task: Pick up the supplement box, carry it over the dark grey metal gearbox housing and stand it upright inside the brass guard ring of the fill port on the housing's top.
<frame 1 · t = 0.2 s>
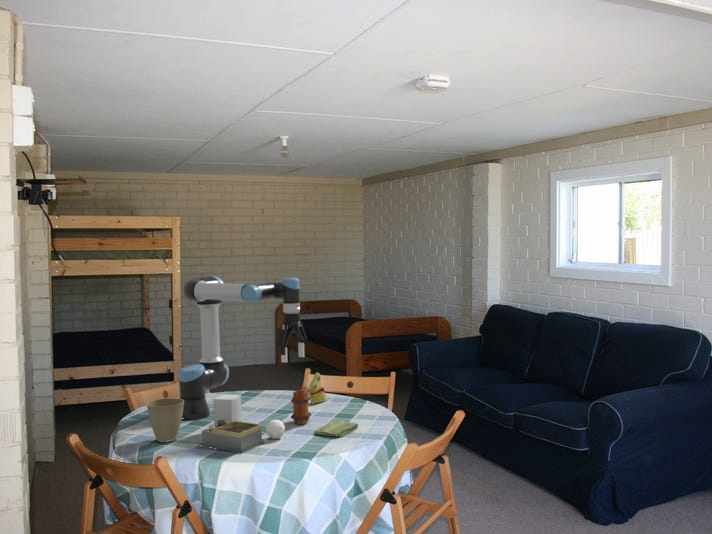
hand: (293, 359, 306), 28 cm above the table, fingers open, 13 cm apart
washcloth: (336, 432, 289), on the table
plant pot: (167, 440, 282), on the table
chocolate bunny: (318, 403, 339), on the table
geometric ball: (275, 438, 281), on the table
mug: (302, 421, 306), on the table
gearbox: (232, 444, 274), on the table
supplement box: (228, 431, 293), on the table
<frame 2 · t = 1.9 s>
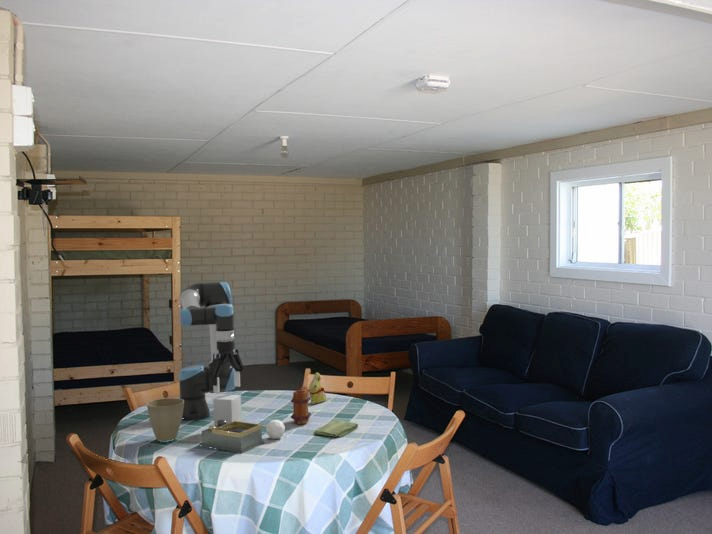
hand: (227, 389, 292), 18 cm above the table, fingers open, 13 cm apart
nothing on the table moved.
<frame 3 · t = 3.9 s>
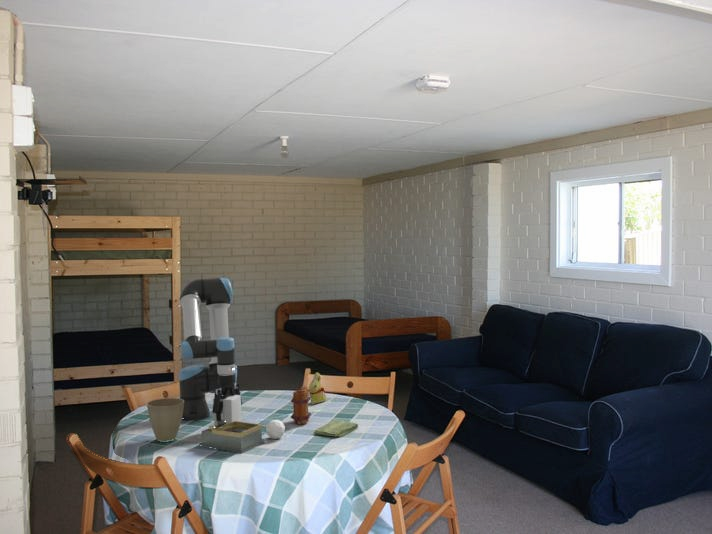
hand: (228, 425, 293), 2 cm above the table, fingers closed on supplement box, 10 cm apart
supplement box: (228, 431, 293), on the table, touching gripper
everything else where it was.
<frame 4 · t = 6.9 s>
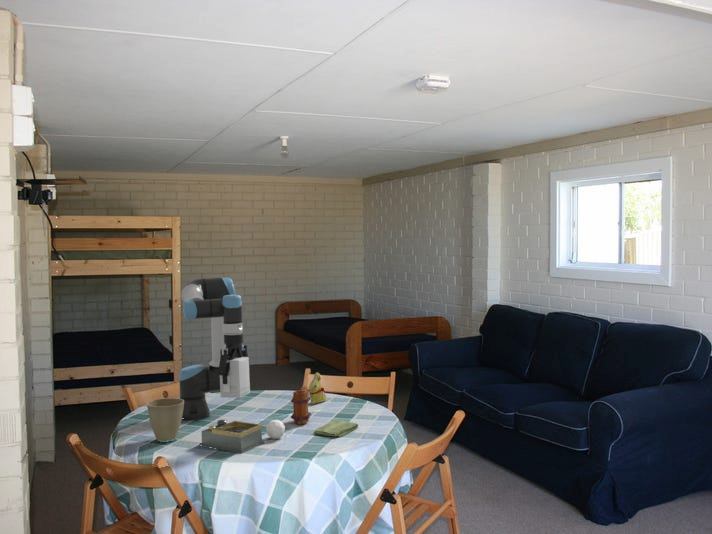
hand: (235, 389, 272), 22 cm above the table, fingers closed on supplement box, 10 cm apart
supplement box: (235, 395, 273), point 20 cm above the table, touching gripper
everything else where it was.
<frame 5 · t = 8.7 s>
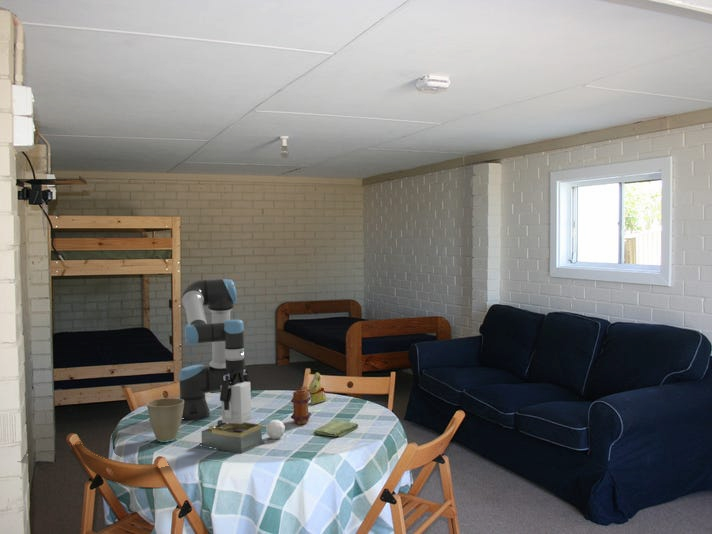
hand: (236, 414, 272), 13 cm above the table, fingers closed on supplement box, 10 cm apart
supplement box: (237, 421, 272), point 10 cm above the table, touching gripper
everything else where it was.
when the fingers open (10 cm above the table, at t = 10.2 s): supplement box drops 1 cm, resting on gearbox.
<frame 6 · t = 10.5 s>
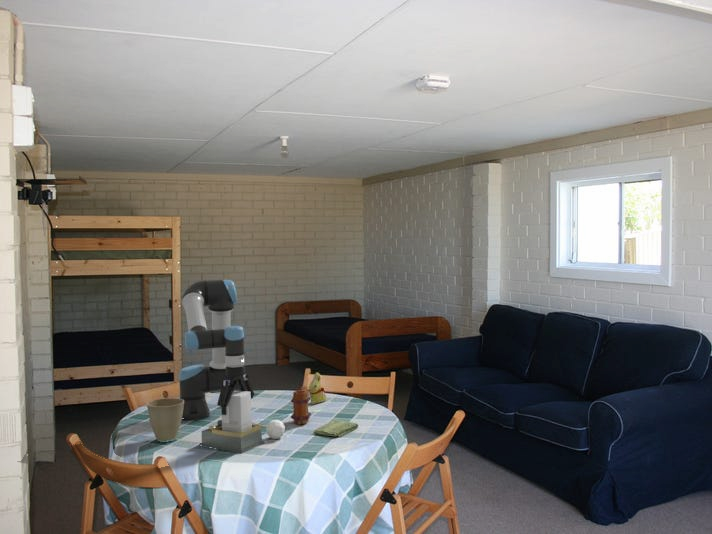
hand: (237, 418, 272), 11 cm above the table, fingers open, 13 cm apart
supplement box: (237, 430, 272), point 6 cm above the table, touching gearbox
everything else where it was.
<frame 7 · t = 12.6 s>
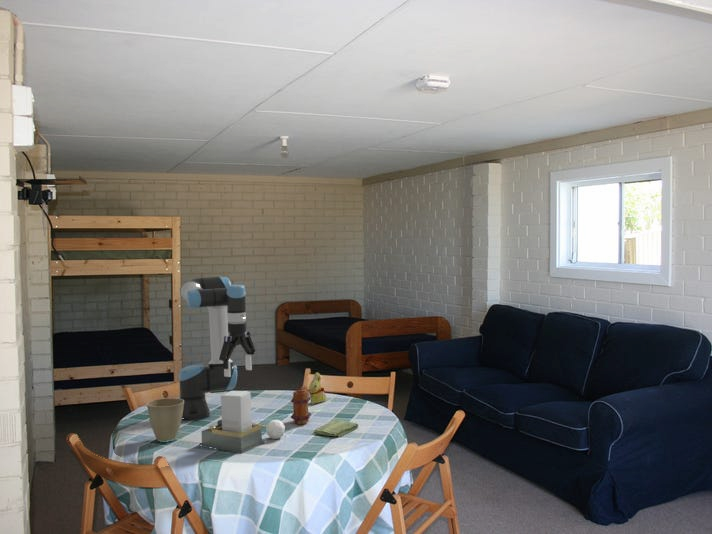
hand: (238, 373, 283), 27 cm above the table, fingers open, 13 cm apart
nothing on the table moved.
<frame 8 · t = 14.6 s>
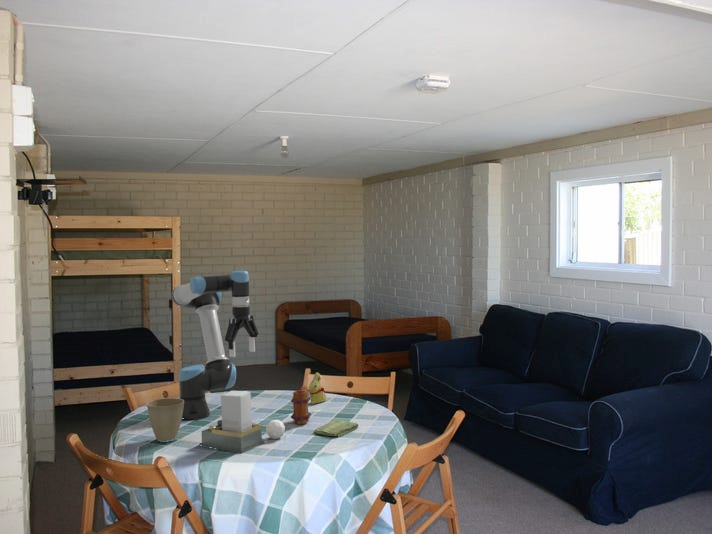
hand: (242, 354, 300), 32 cm above the table, fingers open, 13 cm apart
nothing on the table moved.
at the end: supplement box inside the target area on the gearbox (0.1 cm from its centre), point 6.0 cm above the gearbox's base; supplement box tilted 0°; the gripper is holding nothing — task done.
